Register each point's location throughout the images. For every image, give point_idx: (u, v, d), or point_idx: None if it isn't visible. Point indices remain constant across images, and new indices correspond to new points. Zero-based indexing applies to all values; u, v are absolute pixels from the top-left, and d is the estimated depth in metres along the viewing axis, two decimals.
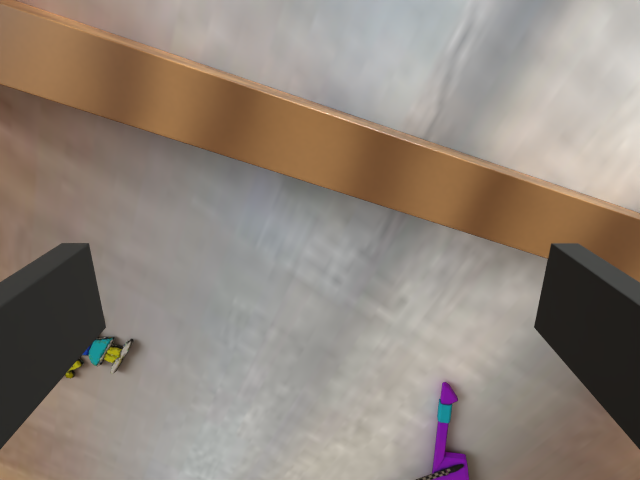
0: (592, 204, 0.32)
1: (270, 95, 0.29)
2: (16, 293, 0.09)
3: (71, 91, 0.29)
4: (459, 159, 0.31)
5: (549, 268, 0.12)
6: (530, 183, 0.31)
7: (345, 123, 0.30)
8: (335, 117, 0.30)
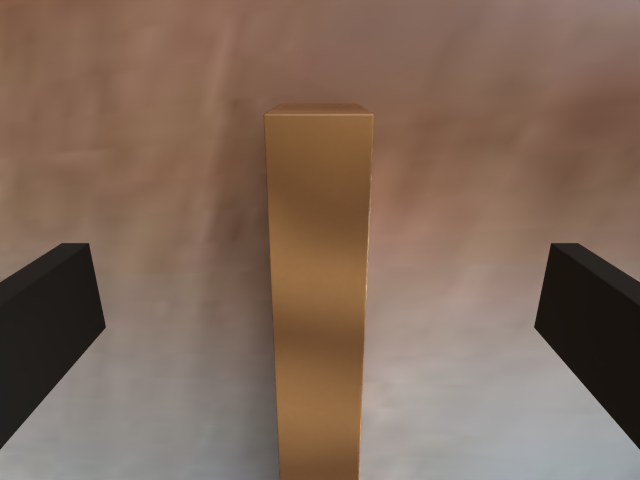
0: None
1: None
2: (16, 293, 0.09)
3: (294, 435, 0.26)
4: None
5: (549, 268, 0.12)
6: None
7: None
8: None
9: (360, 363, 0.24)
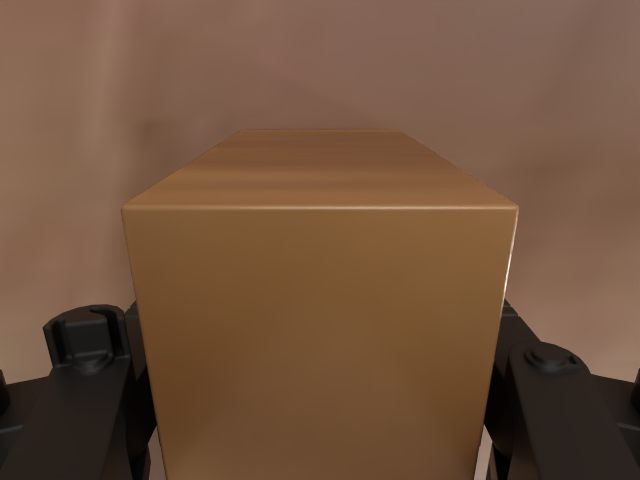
0: None
1: None
2: None
3: None
4: None
5: None
6: None
7: None
8: None
9: None
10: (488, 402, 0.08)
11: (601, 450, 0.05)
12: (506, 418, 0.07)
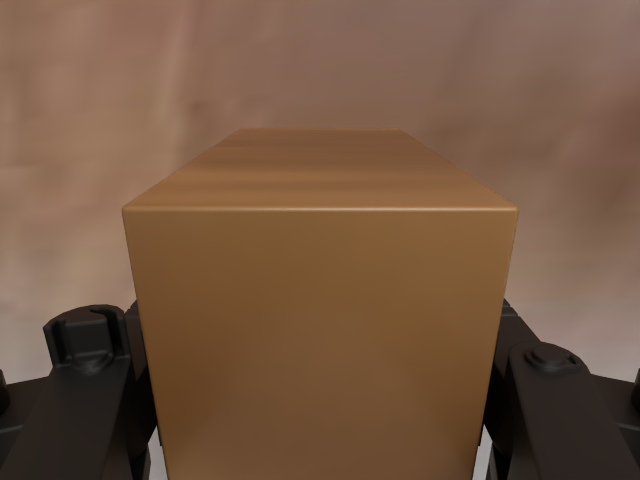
0: None
1: None
2: None
3: None
4: None
5: None
6: None
7: None
8: None
9: None
10: (488, 403, 0.08)
11: (601, 450, 0.05)
12: (506, 418, 0.07)
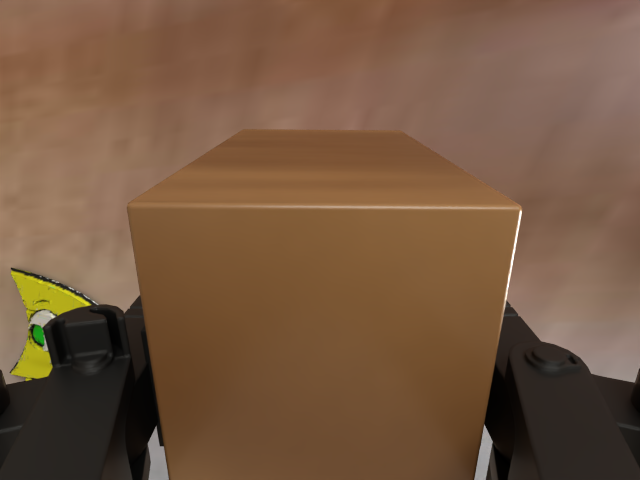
0: None
1: None
2: None
3: None
4: None
5: None
6: None
7: None
8: None
9: None
10: (488, 403, 0.08)
11: (601, 450, 0.05)
12: (506, 418, 0.07)
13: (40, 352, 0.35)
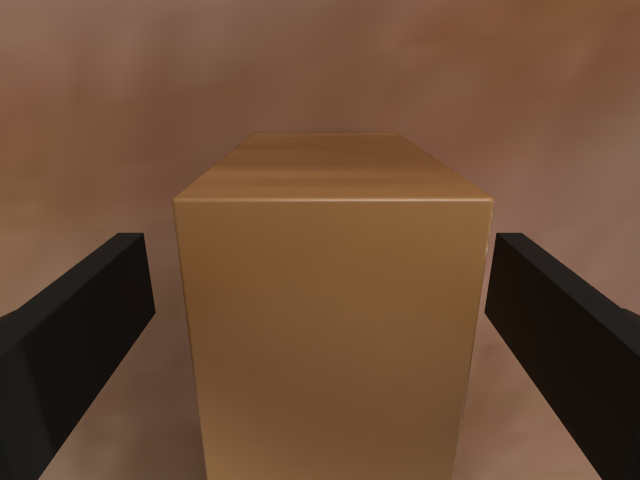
0: None
1: None
2: (92, 276, 0.10)
3: None
4: None
5: (495, 256, 0.13)
6: None
7: None
8: None
9: None
10: None
11: None
12: None
13: None
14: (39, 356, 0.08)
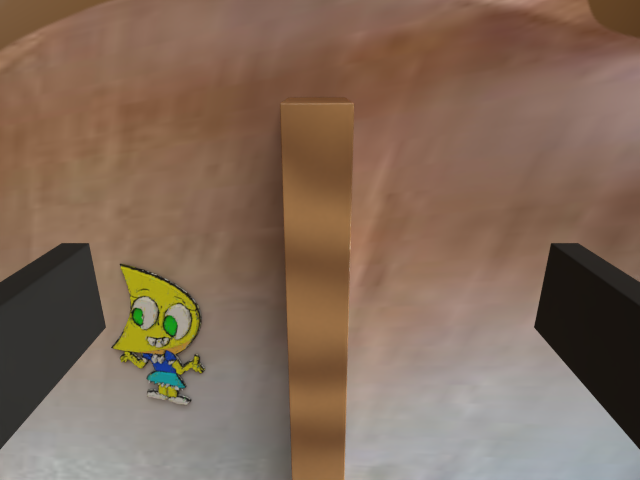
0: None
1: (344, 456, 0.40)
2: (16, 293, 0.09)
3: (300, 339, 0.35)
4: None
5: (549, 268, 0.12)
6: None
7: None
8: None
9: (347, 282, 0.34)
10: None
11: None
12: None
13: (138, 330, 0.44)
14: None
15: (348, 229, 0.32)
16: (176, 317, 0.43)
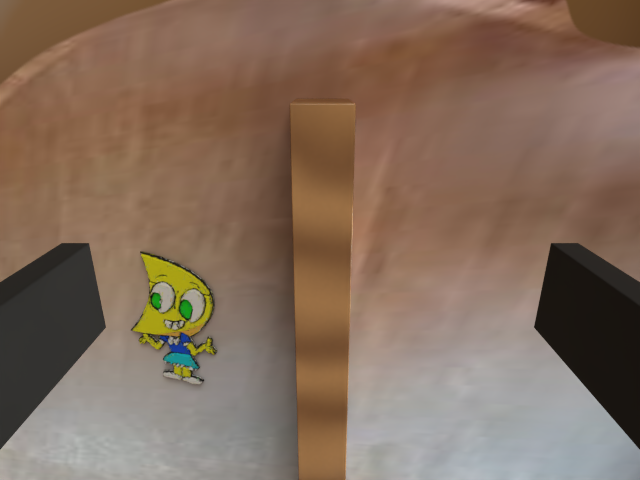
0: None
1: (346, 429, 0.43)
2: (16, 293, 0.09)
3: (306, 318, 0.39)
4: None
5: (549, 268, 0.12)
6: None
7: (343, 469, 0.45)
8: (345, 463, 0.45)
9: (349, 266, 0.37)
10: None
11: None
12: None
13: (156, 313, 0.48)
14: None
15: (350, 217, 0.36)
16: (191, 301, 0.47)
